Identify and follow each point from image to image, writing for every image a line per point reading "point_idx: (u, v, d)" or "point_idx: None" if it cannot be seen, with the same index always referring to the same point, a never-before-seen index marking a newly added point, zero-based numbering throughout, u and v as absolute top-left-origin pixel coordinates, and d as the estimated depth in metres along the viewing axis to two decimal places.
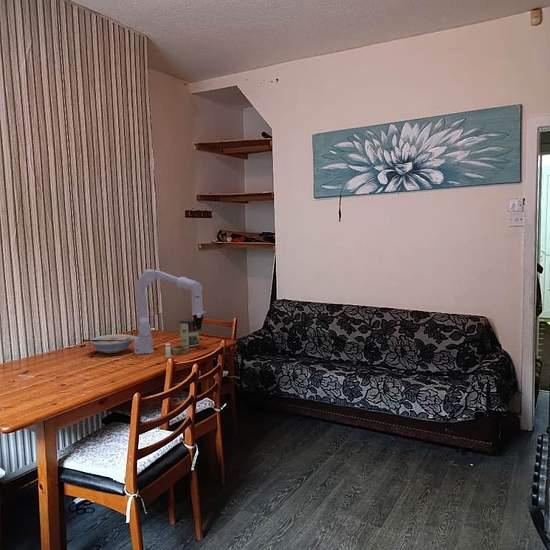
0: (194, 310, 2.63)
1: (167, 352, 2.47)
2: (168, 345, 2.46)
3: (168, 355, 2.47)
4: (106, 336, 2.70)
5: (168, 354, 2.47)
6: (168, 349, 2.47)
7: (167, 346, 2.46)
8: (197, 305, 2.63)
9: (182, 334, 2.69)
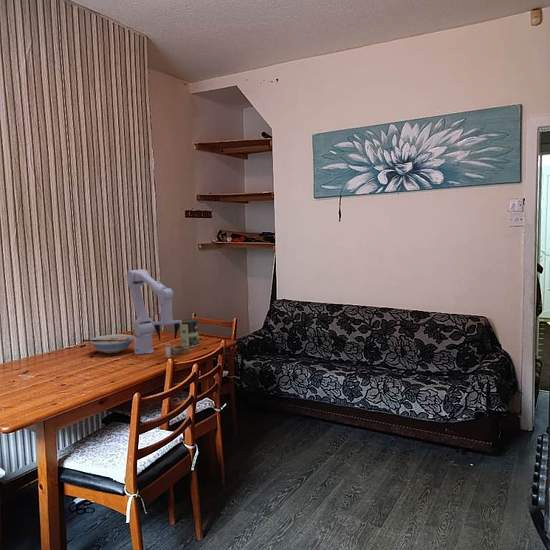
0: None
1: (167, 352, 2.47)
2: (168, 345, 2.46)
3: (168, 355, 2.47)
4: (106, 336, 2.70)
5: (168, 354, 2.47)
6: (168, 349, 2.47)
7: (167, 346, 2.46)
8: None
9: (182, 335, 2.69)
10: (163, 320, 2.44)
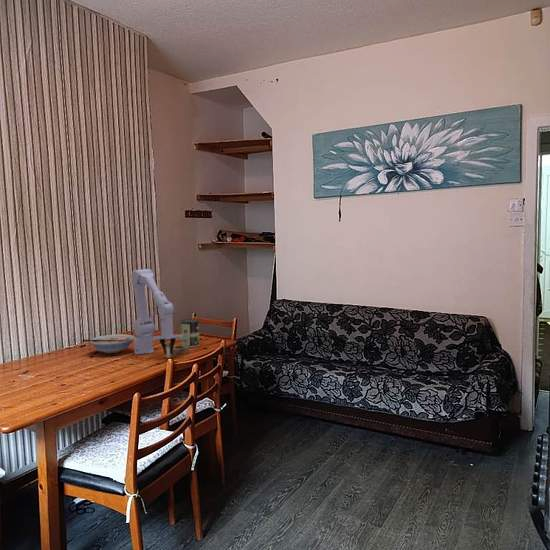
0: None
1: (167, 352, 2.47)
2: (168, 345, 2.46)
3: (168, 355, 2.47)
4: (106, 336, 2.70)
5: (168, 354, 2.47)
6: (168, 349, 2.47)
7: (167, 346, 2.46)
8: (161, 328, 2.46)
9: (183, 334, 2.69)
10: (164, 335, 2.44)
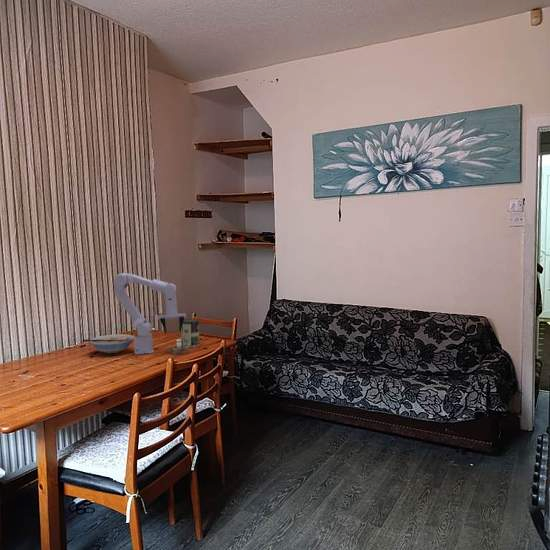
0: None
1: None
2: (179, 341, 2.55)
3: None
4: (106, 336, 2.70)
5: None
6: (179, 345, 2.56)
7: (178, 342, 2.55)
8: None
9: (184, 334, 2.68)
10: (168, 314, 2.57)
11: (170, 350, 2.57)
